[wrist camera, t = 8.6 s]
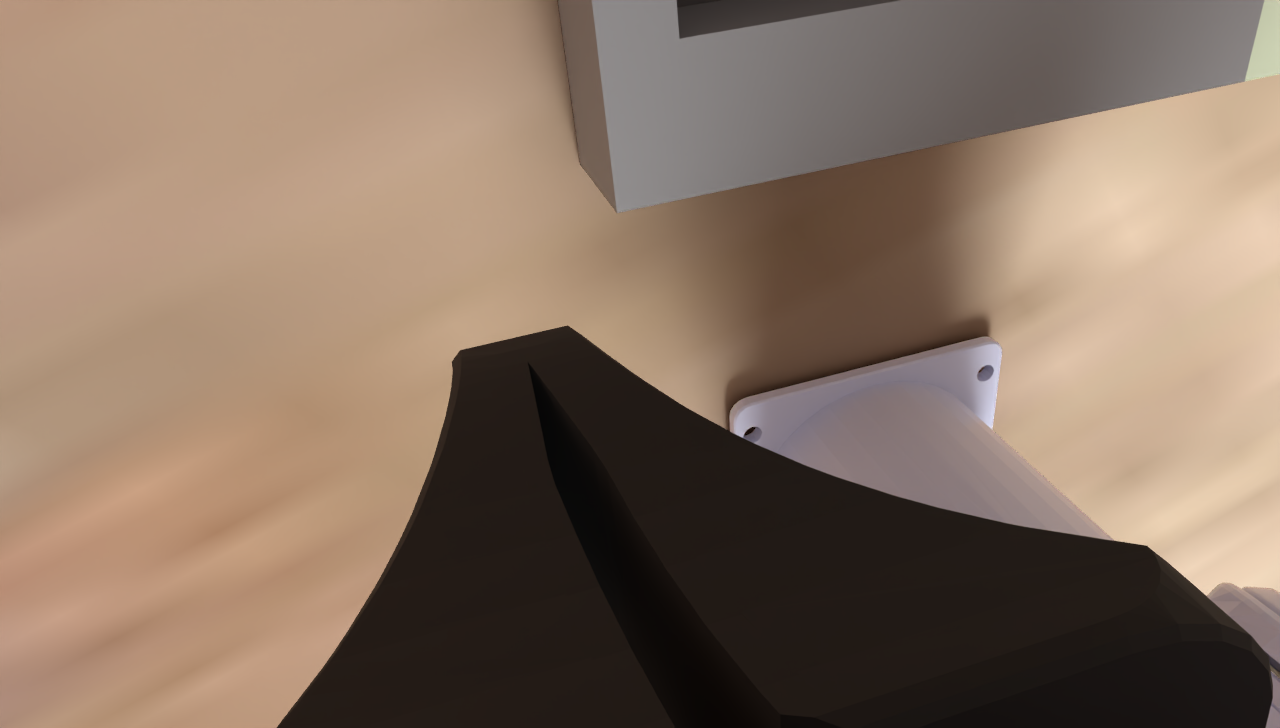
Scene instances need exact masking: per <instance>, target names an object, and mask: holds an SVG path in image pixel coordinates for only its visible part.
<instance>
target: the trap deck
mask: <svg viewBox="0 0 1280 728" xmlns="http://www.w3.org/2000/svg"><path fill="white" fill-rule="evenodd" d="M558 6H559V13H560V21H561V28H562V35H563V43H564V50H565V57H566V64H567V72H568V79H569V86H570V94H571V101H572V108H573V116H574V123H575V130H576V137H577V145H578V152H579V159H580V165H581V166H582V168H583V169H584V170H585V172H586V173H587V174H588V175H589V177H590V178H591V179H592V181H593V182H594V183H595V185H596V186H597V187H598V189H599V190H600V191H601V193H602V194H603V195H604V197H605V198H606V199H607V200H608V202H609V203H610V204H611V206H612V207H613V208H614V210H615V211H616V212H617V213H620V212H624V211H629V210H634V209H639V208H643V207H648V206H653V205H658V204H662V203H667V202H672V201H677V200H682V199H686V198H691V197H696V196H701V195H705V194H710V193H715V192H720V191H725V190H729V189H734V188H739V187H744V186H748V185H753V184H758V183H763V182H767V181H772V180H777V179H782V178H787V177H791V176H796V175H801V174H806V173H810V172H815V171H820V170H825V169H830V168H834V167H839V166H844V165H849V164H853V163H858V162H863V161H868V160H872V159H877V158H882V157H887V156H892V155H896V154H901V153H906V152H911V151H915V150H920V149H925V148H930V147H935V146H939V145H944V144H949V143H954V142H958V141H963V140H968V139H973V138H977V137H982V136H987V135H992V134H997V133H1001V132H1006V131H1011V130H1016V129H1020V128H1025V127H1030V126H1035V125H1040V124H1044V123H1049V122H1054V121H1059V120H1063V119H1068V118H1073V117H1078V116H1082V115H1087V114H1092V113H1097V112H1102V111H1106V110H1111V109H1116V108H1121V107H1125V106H1130V105H1135V104H1140V103H1145V102H1149V101H1154V100H1159V99H1164V98H1168V97H1173V96H1178V95H1183V94H1187V93H1192V92H1197V91H1202V90H1207V89H1211V88H1216V87H1221V86H1226V85H1230V84H1235V83H1240V82H1245V81H1250V80H1254V79H1259V78H1264V77H1269V76H1273V75H1278V74H1280V0H558Z"/></svg>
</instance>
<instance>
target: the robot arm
mask: <svg viewBox="0 0 1280 728" xmlns="http://www.w3.org/2000/svg"><path fill="white" fill-rule="evenodd" d="M1001 358H1002V347H1001V346H1000V345H999V343H998V342H996V341H995V340H994V339H992V338H990V337H988V336H986V337H979V338H975V339H971V340H967V341H963V342H959V343H956V344H952V345H948V346H944V347H940V348H936V349H932V350H928V351H924V352H920V353H917V354H913V355H909V356H905V357H901V358H897V359H893V360H889V361H885V362H882V363H878V364H874V365H870V366H866V367H862V368H858V369H854V370H850V371H847V372H843V373H839V374H835V375H831V376H827V377H823V378H819V379H815V380H812V381H808V382H804V383H800V384H796V385H792V386H788V387H784V388H780V389H776V390H773V391H769V392H765V393H761V394H757V395H753V396H749V397H746V398H743V399H741V400H739V401H738V402H737V403H736V404H735V405H734V406H733V408H732V409H731V411H730V416H729V420H730V431H728V430H726V429H724V428H722V427H721V426H719V425H717V424H715V423H713V422H711V421H709V420H708V419H706V418H704V417H702V416H700V415H698V414H697V413H695V412H693V411H691V410H689V409H688V408H686V407H684V406H683V405H681V404H679V403H678V402H676V401H675V400H673V399H672V398H670V397H669V396H667V395H665V394H664V393H662V392H661V391H659V390H658V389H656V388H655V387H653V386H652V385H650V384H648V383H647V382H645V381H644V380H642V379H641V378H640V377H638V376H637V375H635V374H634V373H632V372H631V371H629V370H628V369H627V368H625V367H624V366H622V365H621V364H620V363H618V362H617V361H616V360H614V359H613V358H611V357H610V356H609V355H607V354H606V353H605V352H603V351H602V350H601V349H599V348H598V347H597V346H595V345H594V344H593V343H591V342H590V341H589V340H587V339H586V338H585V337H583V336H582V335H581V334H579V333H578V332H576V331H575V330H573V329H572V328H570V327H569V326H564V327H559V328H555V329H551V330H546V331H542V332H538V333H533V334H529V335H525V336H520V337H516V338H512V339H507V340H503V341H499V342H494V343H490V344H486V345H482V346H477V347H473V348H469V349H464V350H460V351H459V353H458V354H457V356H456V357H455V358H454V360H453V361H452V367H453V376H452V386H451V393H450V398H449V403H448V408H447V412H446V417H445V420H444V424H443V427H442V431H441V434H440V438H439V441H438V445H437V448H436V452H435V455H434V458H433V461H432V464H431V467H430V469H429V472H428V474H427V477H426V480H425V482H424V485H423V487H422V490H421V492H420V495H419V497H418V500H417V503H416V505H415V508H414V510H413V513H412V515H411V517H410V519H409V522H408V524H407V526H406V528H405V530H404V532H403V535H402V537H401V539H400V541H399V543H398V545H397V547H396V549H395V551H394V553H393V555H392V557H391V558H390V560H389V562H388V564H387V566H386V568H385V570H384V572H383V573H382V575H381V577H380V579H379V581H378V583H377V584H376V586H375V588H374V589H373V591H372V593H371V594H370V596H369V598H368V599H367V601H366V602H365V604H364V606H363V607H362V609H361V611H360V612H359V614H358V615H357V617H356V619H355V620H354V622H353V624H352V625H351V627H350V628H349V630H348V632H347V633H346V635H345V636H344V638H343V639H342V641H341V642H340V644H339V645H338V647H337V648H336V650H335V651H334V653H333V654H332V655H331V657H330V658H329V660H328V661H327V663H326V664H325V665H324V667H323V668H322V670H321V671H320V672H319V673H318V675H317V676H316V677H315V679H314V680H313V681H312V682H311V684H310V685H309V686H308V688H307V689H306V690H305V692H304V693H303V694H302V695H301V697H300V698H299V699H298V701H297V702H296V703H295V705H294V706H293V707H292V708H291V710H290V711H289V712H288V714H287V715H286V716H285V717H284V719H283V720H282V721H281V723H280V724H279V725H278V727H277V728H1280V592H1278V591H1276V590H1274V589H1270V588H1257V587H1244V588H1242V589H1241V588H1239V587H1237V586H1235V585H1234V584H1231V583H1221V584H1219V585H1218V586H1217V587H1216V588H1214V589H1213V590H1212V591H1211V592H1210V593H1209V594H1208V595H1207V596H1206V595H1205V594H1203V593H1202V592H1201V591H1200V590H1199V589H1198V588H1197V587H1195V586H1194V585H1193V584H1192V583H1191V582H1190V581H1188V580H1187V579H1186V578H1185V577H1184V576H1183V575H1181V574H1180V573H1179V572H1178V571H1177V570H1176V569H1174V568H1173V567H1172V566H1171V565H1170V564H1169V563H1168V562H1166V561H1165V560H1164V559H1163V558H1161V557H1160V556H1159V555H1157V554H1156V553H1155V552H1154V551H1152V550H1151V549H1150V548H1149V547H1148V546H1144V545H1138V544H1131V543H1125V542H1119V541H1114V540H1113V539H1112V538H1111V537H1110V536H1109V535H1108V534H1107V533H1105V532H1104V531H1103V530H1102V529H1101V528H1100V527H1099V526H1098V525H1097V524H1095V523H1094V522H1093V521H1092V520H1091V519H1090V518H1089V517H1088V516H1087V515H1086V514H1084V513H1083V512H1082V511H1081V510H1080V509H1079V508H1078V507H1077V506H1076V505H1075V504H1073V503H1072V502H1071V501H1070V500H1069V499H1068V498H1067V497H1066V496H1065V495H1064V494H1062V493H1061V492H1060V491H1059V490H1058V489H1057V488H1056V487H1055V486H1054V485H1053V484H1051V483H1050V482H1049V481H1048V480H1047V479H1046V478H1045V477H1044V476H1043V475H1041V474H1040V473H1039V472H1038V471H1037V470H1036V469H1035V468H1034V467H1033V466H1032V465H1030V464H1029V463H1028V462H1027V461H1026V460H1025V459H1024V458H1023V457H1022V456H1021V455H1019V454H1018V453H1017V452H1016V451H1015V450H1014V449H1013V448H1012V447H1011V446H1010V445H1008V444H1007V443H1006V442H1005V441H1004V440H1003V439H1002V438H1001V437H1000V436H998V435H997V434H996V433H995V432H994V431H993V430H992V429H993V421H994V413H995V405H996V397H997V389H998V381H999V373H1000V366H1001ZM984 366H985V367H984ZM982 367H984V369H983V370H982V371H981V372H980V373H978V371H979V370H980V369H981V368H982ZM751 427H756V428H755V430H754V431H753V432H752V433H750V434H749V435H744V433H745V432H746V431H747V429H749V428H751ZM1271 671H1272V672H1273V673H1274V674H1273V673H1272V672H1271Z"/></svg>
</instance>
